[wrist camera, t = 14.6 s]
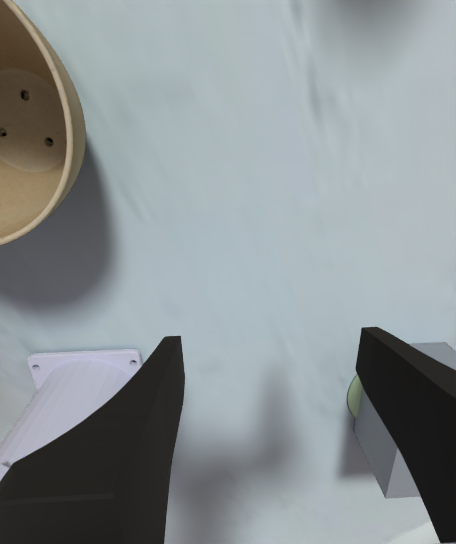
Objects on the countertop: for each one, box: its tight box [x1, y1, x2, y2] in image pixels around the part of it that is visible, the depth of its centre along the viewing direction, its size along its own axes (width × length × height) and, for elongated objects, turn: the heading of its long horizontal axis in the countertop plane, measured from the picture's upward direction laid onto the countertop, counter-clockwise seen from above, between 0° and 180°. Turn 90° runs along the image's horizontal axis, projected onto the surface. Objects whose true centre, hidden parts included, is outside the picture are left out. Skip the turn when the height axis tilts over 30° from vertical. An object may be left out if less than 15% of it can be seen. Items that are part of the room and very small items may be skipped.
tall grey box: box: [354, 342, 456, 498], centre depth 23 cm, size 9×6×6 cm
